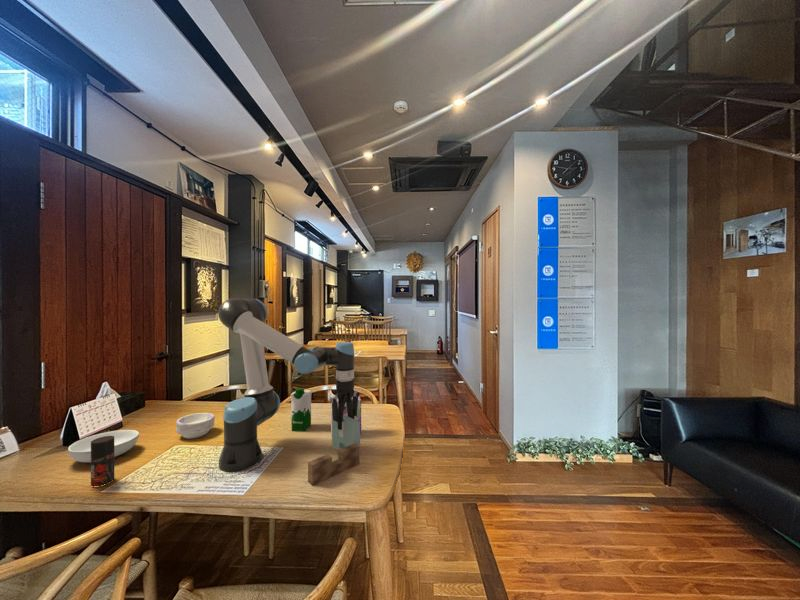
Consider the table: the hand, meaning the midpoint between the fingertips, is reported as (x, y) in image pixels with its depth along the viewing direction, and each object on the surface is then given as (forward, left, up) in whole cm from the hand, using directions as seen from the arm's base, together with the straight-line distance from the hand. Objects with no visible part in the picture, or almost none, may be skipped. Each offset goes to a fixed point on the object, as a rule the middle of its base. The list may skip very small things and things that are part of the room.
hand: (345, 435), depth 129 cm
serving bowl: (-72, +66, -7) cm, 98 cm away
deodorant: (-73, +41, -7) cm, 84 cm away
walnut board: (-12, -11, -7) cm, 18 cm away
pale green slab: (0, 0, -7) cm, 7 cm away
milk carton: (-2, +35, -7) cm, 36 cm away
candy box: (+10, +14, -7) cm, 19 cm away
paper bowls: (-41, +64, -7) cm, 76 cm away
